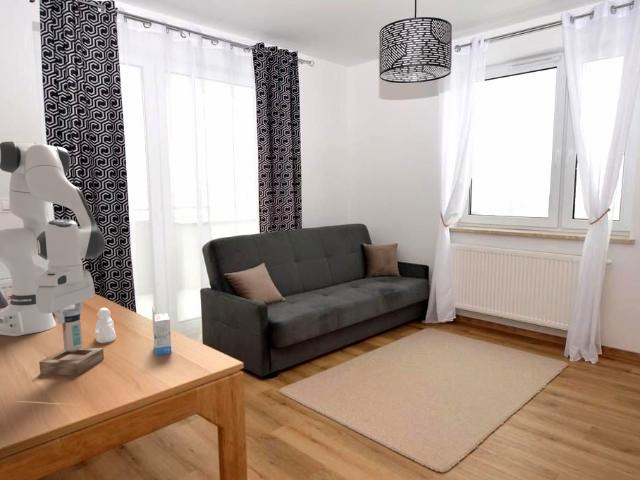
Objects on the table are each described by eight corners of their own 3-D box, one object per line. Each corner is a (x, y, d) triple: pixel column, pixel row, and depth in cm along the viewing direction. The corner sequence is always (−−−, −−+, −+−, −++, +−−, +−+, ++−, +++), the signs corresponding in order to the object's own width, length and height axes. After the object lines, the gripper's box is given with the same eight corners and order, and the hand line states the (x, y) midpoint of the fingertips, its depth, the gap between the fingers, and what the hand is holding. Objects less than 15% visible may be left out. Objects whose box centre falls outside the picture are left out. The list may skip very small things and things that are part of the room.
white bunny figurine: (97, 347, 146) (95, 312, 145) (94, 340, 153) (92, 307, 152) (117, 343, 150) (115, 309, 148) (114, 336, 157) (111, 304, 156)
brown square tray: (40, 375, 125) (39, 361, 124) (69, 359, 136) (68, 347, 136) (78, 377, 123) (77, 363, 123) (104, 361, 135) (103, 348, 134)
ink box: (172, 354, 139) (170, 310, 137) (156, 356, 137) (153, 312, 135) (169, 345, 147) (167, 304, 145) (153, 348, 145) (151, 306, 143)
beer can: (69, 346, 131) (66, 308, 130) (85, 346, 131) (82, 308, 130) (61, 352, 127) (57, 313, 125) (77, 352, 127) (74, 312, 125)
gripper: (80, 268, 137) (83, 309, 139) (29, 281, 117) (33, 330, 119) (98, 268, 136) (101, 310, 138) (50, 281, 116) (54, 330, 118)
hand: (69, 319), depth 128 cm, fingers closed on beer can, 5 cm apart
